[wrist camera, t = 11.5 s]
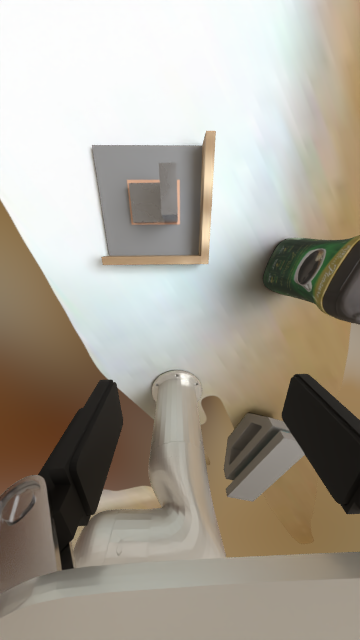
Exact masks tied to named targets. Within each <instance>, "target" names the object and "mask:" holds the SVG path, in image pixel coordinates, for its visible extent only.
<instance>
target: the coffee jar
mask: <svg viewBox="0 0 360 640" xmlns="http://www.w3.org/2000/svg"><path fill="white" fill-rule="evenodd" d="M263 282H264V285H265V286H266V287H267V288H268V289H270V290H272V291H274V292H277V293H280V294H283V295H286V296H291V297H295V298H299V299H302V300H306V301H309V302H312V303H314V304H316V305H317V306H318V308H319V309H320V310H321V311H322V312H324V313H325V314H327V315H329V316H331V317H334V318H336V319H340V320H343V321H347V322H351V323H356V324H360V235H359V236H356V237H353V238H350V239H345V240H318V239H306V238H289V239H285V240H284V241H282V242H281V243H280V244H279V245H278V246H277V247H276V249H275V251H274V252H273V254H272V256H271V258H270V260H269V262H268V264H267V267H266V270H265V273H264V276H263Z"/></svg>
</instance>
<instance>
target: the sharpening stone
mask: <svg viewBox="0 0 360 640" xmlns="http://www.w3.org/2000/svg"><path fill="white" fill-rule="evenodd" d="M304 455H305V454H304V452H303V451H302V449H301V448H300V446H299V444H298V443H297V441H296V440H295V438H294V437H293V435H292V434H291V432H290V431H289V429H288V427H287V426H286V424H285V423H284V422H283V421H280V420H276V419H273V418H269V417H265V416H260V415H255V414H251V413H247V414H246V415H245V417H244V418H243V419H242V420H241V422H240V423H239V424H238V426H237V427H236V428H235V429H234V431H233V432H232V433H231V435H230V436H229V437H228V442H227V449H226V456H225V464H224V472H225V477H226V479H230V480H234V481H233V482H232V483H231V484H230V485H229V486H228V487H227V488H226V493H227V497H231V498H237V499H242V500H248V501H254V500H255V499H256V498H257V497H259V496H260V495H261V494H262V493H263V492H264V491H265V490H266V489H267V488H269V487H270V486H271V485H272V484H273V483H274V482H275V481H276V480H277V479H278V478H280V477H281V476H282V475H283V474H284V473H285V472H286V471H287V470H288V469H289V468H291V467H292V466H293V465H294V464H295V463H296V462H297V461H298V460H299V459H300V458H302V457H303V456H304Z"/></svg>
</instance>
